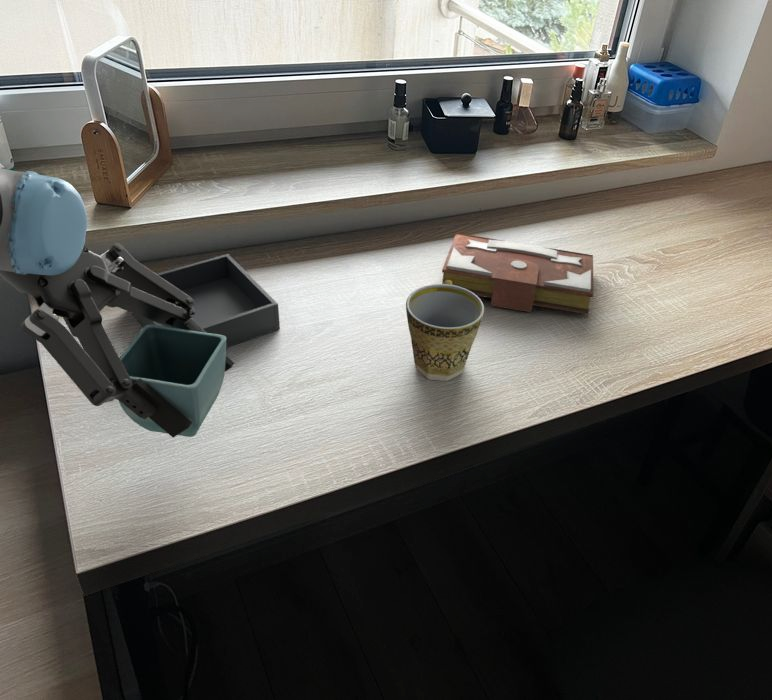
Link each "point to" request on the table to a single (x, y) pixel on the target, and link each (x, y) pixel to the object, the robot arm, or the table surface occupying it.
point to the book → (520, 274)
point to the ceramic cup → (442, 328)
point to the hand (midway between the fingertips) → (205, 398)
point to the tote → (224, 299)
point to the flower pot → (177, 371)
